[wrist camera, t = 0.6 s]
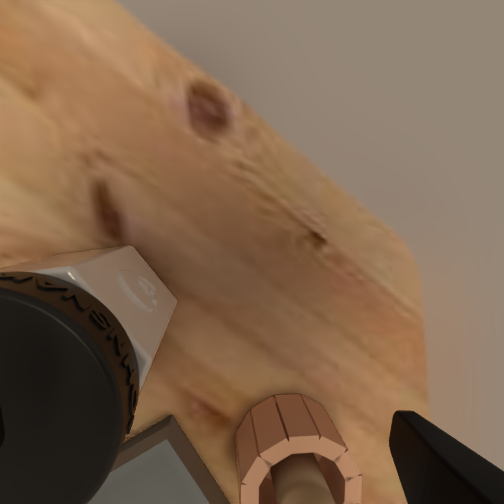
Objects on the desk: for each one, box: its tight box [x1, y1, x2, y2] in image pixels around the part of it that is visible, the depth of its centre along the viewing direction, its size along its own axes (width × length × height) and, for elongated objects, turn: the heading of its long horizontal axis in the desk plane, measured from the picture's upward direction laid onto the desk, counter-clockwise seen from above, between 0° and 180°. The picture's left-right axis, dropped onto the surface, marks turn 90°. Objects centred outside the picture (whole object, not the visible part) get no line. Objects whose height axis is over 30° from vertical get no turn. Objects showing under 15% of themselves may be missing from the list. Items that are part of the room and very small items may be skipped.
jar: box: [0, 245, 177, 504], centre depth 16 cm, size 9×8×12 cm
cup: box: [236, 394, 362, 504], centre depth 21 cm, size 7×7×4 cm
